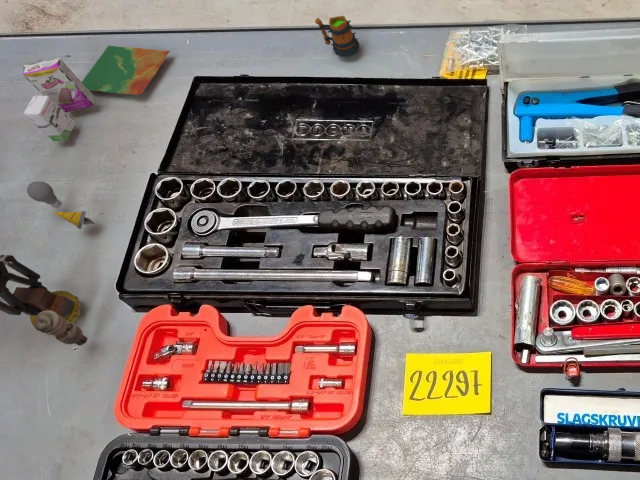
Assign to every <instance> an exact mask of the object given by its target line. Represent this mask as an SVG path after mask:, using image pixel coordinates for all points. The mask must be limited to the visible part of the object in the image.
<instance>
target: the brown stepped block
mask: <svg viewBox="0 0 640 480" xmlns="http://www.w3.org/2000/svg"><path fill="white" fill-rule="evenodd" d="M52 292H53V291H50V290H48V288H47V289H42V288H29V287H24V286H23V287H22V286H16V287H15V288H14V291H13V292H12V294H13V295H14V296H15V297H17V298H18V299H19V300H20V301H21V302H22V303H23V304H29V305H31V306H33V307H35V308H37V309H39V310H41V311H46V310H50V311H54V312H56V313H57V314H59V315H60V316H67V315H68V313H69V311H70V309H71V307H72V304H73V301H72V300H70V299H68V298H67V297H65V296H57V295H55V294H53V293H52Z"/></svg>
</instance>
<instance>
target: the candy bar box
mask: <svg viewBox="0 0 640 480" xmlns="http://www.w3.org/2000/svg"><path fill="white" fill-rule="evenodd" d="M22 71H23V72H22V76H23V77H24V78H25V79H26V80H27V81H28V82H29V83H31V85H32V86H33V87H34V88H36V90H37V91H39V93H41V95H42V96H49V97H50V98H51V99H52V100H53V101H54V102H55V103H56V104H57V105H58V106H59V107H60V108H61V109H62V110H63V111H64V112H65V113H66V114H67V113H70V112H74V111H79V110H83V109H88V108H89V109H90V108H93V107H96V96H95V95H94V94H93V93H92V92H91V90H88V89H87V88H86V86H85V85H84V84H83V83H82V81H81V80H80V79H79V77H78V76H77V75H76V74H75V73H74V72H73V71H72V69H70V67H68V65H67V63H65V62H64V61H63V60H62V59H61V58H60V57H58V58H53V59H49V60H44V61H43V60H42V61H38V62H34V63H28V64H24V65H23V70H22Z"/></svg>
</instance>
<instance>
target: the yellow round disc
mask: <svg viewBox="0 0 640 480" xmlns="http://www.w3.org/2000/svg"><path fill="white" fill-rule="evenodd" d="M51 292H52V293H53V294H55V295H57V296H65V297H67V298H68V299H70V300H72V301H73V304H72V307H71V309H70V311H69V313H68V315H67V316H61V317H63V318H64V319H65V320H66V321H67V323H72V324H75V322H76V321H77V319H78V318H79V316H80V314H81V311H80V300H79V299H78V296H76V295H75V294H73V293H71V292H69V291H67V290H55V291H51ZM36 317H37V316H36V315H29V320H30V321H29V322H30V323H31V325H32V326H33V327H34V325H35V322H36V321H37V319H36Z"/></svg>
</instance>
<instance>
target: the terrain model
mask: <svg viewBox="0 0 640 480" xmlns="http://www.w3.org/2000/svg"><path fill="white" fill-rule="evenodd" d="M169 53H170V50H160V49H151V48H143V47H131V46H115V45H108V46H106V48H105V50H104V51H103V52H102V54H101V55H100V57H99V58H98V59H97V60H96V62H95V63H94V64H93V65H92V67H91V69H90V70H89V71H88V72H87V74H86V75H85V77H84V78H83V80H82V81H81V82H82V83H83V84H84V85H85V86H86V88H87V89H88V90H89V91H96V92H104V93H111V94H123V95H124V94H125V95H137V96H141V95H142V94H143V93H144V91H145V90H146V88H147V87H148V85H149V84H150V83H151V81H152V80H153V78H154V77H155V76H156V74H157V73H158V70H159V69H160V67H161V65H163V63H164V61H165V60H166V58H167V57H168V55H169Z"/></svg>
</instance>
